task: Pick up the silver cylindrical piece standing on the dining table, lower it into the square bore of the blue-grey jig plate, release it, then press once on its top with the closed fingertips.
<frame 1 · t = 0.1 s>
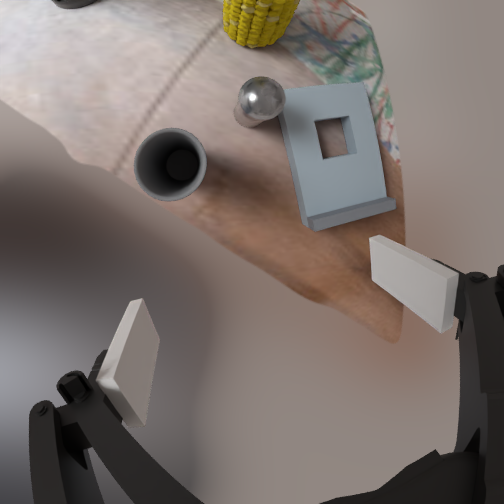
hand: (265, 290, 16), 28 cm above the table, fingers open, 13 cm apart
jig: (331, 150, 42), on the table
food: (251, 23, 34), on the table
silver cylindrical piece: (249, 112, 38), on the table
cup: (182, 164, 39), on the table
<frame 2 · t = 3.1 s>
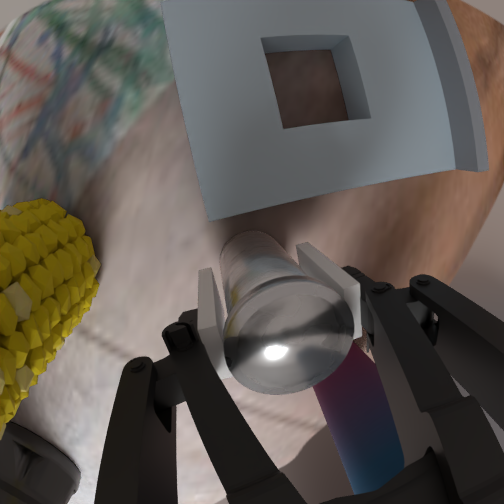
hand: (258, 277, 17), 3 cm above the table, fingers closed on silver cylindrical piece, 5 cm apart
jig: (329, 85, 17), on the table
food: (46, 261, 18), on the table
silver cylindrical piece: (251, 262, 20), on the table, touching gripper
cup: (332, 359, 24), on the table
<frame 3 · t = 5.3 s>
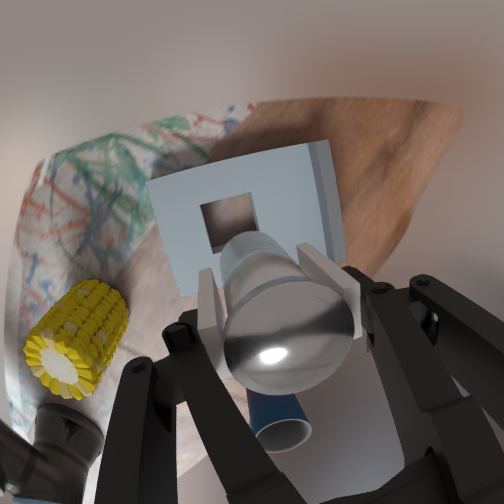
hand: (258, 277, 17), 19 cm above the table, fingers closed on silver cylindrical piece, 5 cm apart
jig: (245, 214, 35), on the table
food: (96, 308, 36), on the table
silver cylindrical piece: (251, 262, 20), point 16 cm above the table, touching gripper
cup: (259, 361, 42), on the table
when the fingers open (4 cm above the table, at t = 7.8 s): silver cylindrical piece drops 1 cm, resting in jig.
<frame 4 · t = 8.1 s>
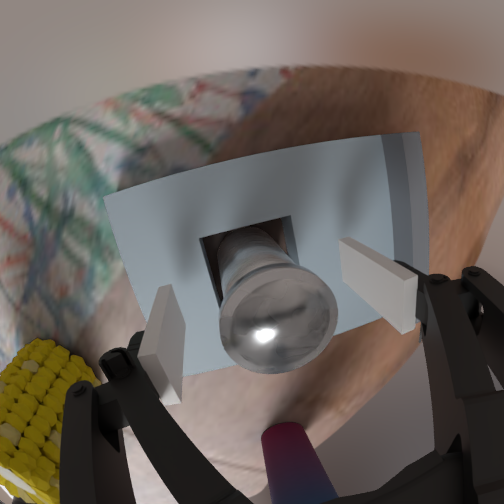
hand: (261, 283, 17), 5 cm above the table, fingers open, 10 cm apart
jig: (274, 248, 22), on the table
food: (59, 373, 22), on the table
silver cylindrical piece: (247, 256, 22), resting in jig
cup: (282, 434, 29), on the table
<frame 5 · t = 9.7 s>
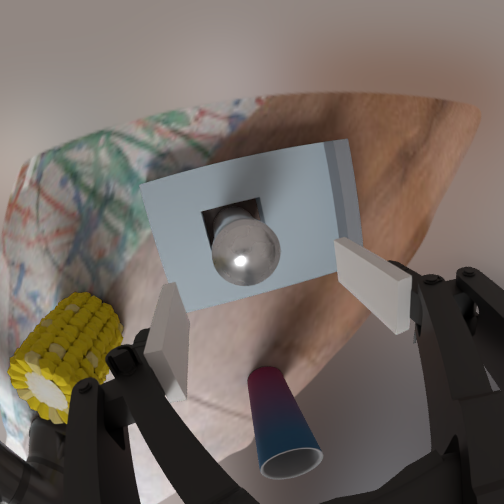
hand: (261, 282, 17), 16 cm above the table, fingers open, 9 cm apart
jig: (252, 221, 32), on the table
food: (88, 322, 32), on the table
silver cylindrical piece: (233, 226, 31), resting in jig
cup: (264, 378, 38), on the table
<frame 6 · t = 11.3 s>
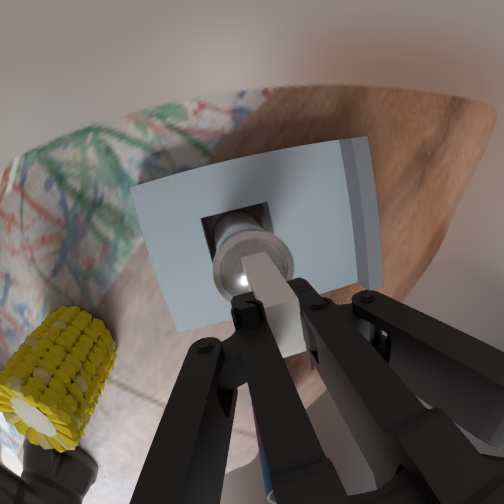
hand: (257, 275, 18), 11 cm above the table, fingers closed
jig: (258, 229, 28), on the table
food: (79, 338, 29), on the table
silver cylindrical piece: (237, 234, 28), resting in jig
cup: (270, 396, 35), on the table
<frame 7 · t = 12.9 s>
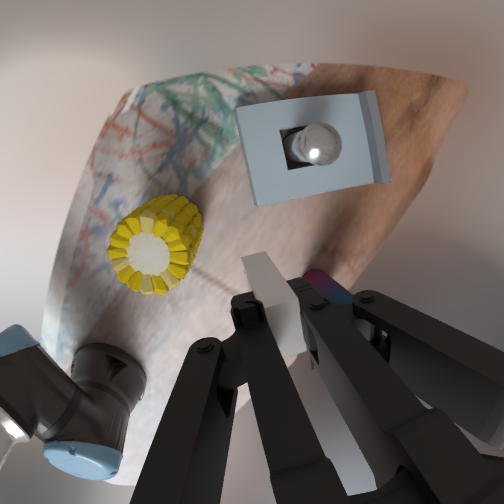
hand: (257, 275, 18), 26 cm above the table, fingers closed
jig: (309, 145, 41), on the table
food: (168, 225, 42), on the table
silver cylindrical piece: (296, 147, 41), resting in jig
cup: (313, 282, 48), on the table
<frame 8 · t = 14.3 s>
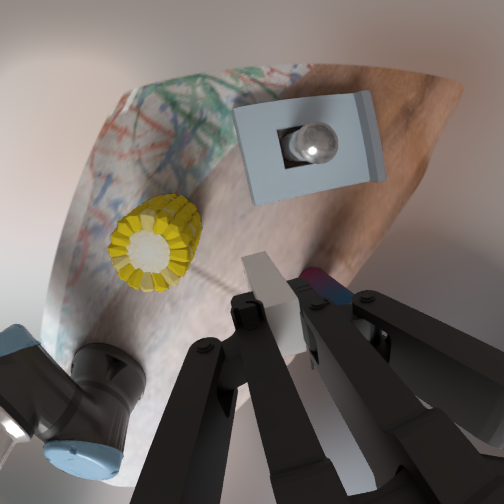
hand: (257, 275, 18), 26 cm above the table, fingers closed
jig: (306, 144, 42), on the table
food: (167, 225, 42), on the table
silver cylindrical piece: (293, 147, 42), resting in jig
cup: (311, 280, 49), on the table
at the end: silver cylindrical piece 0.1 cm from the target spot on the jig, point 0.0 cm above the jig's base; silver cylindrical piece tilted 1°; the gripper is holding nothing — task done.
